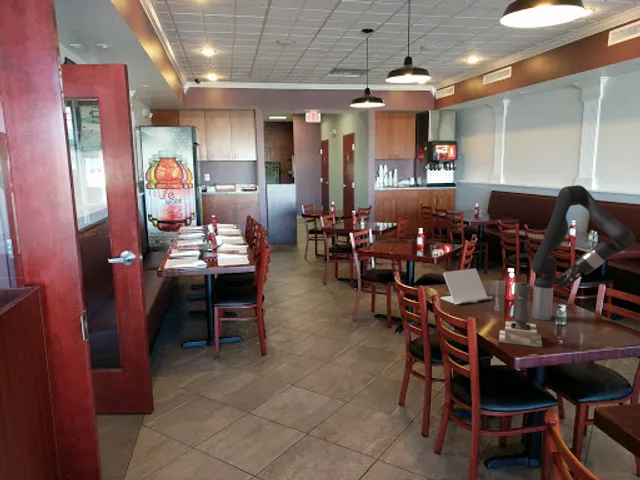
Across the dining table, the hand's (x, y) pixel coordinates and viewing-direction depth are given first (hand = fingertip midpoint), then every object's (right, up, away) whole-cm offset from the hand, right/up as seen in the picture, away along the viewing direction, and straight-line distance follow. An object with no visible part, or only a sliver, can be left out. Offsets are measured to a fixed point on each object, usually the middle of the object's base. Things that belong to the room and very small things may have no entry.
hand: (557, 285), depth 212 cm
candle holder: (-13, -25, +9) cm, 30 cm away
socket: (-13, -26, +10) cm, 31 cm away
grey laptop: (-18, -16, +76) cm, 80 cm away
